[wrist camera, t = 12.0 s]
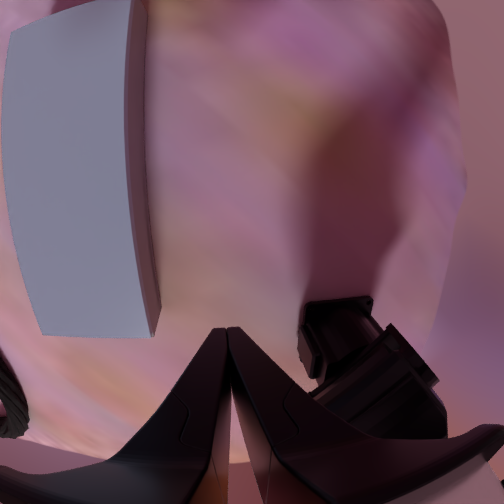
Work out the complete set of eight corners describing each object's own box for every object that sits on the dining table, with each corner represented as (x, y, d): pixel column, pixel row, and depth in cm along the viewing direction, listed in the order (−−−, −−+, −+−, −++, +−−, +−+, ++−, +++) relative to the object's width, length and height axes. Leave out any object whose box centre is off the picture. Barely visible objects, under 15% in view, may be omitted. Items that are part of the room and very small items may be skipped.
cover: (135, -3, 11) (132, -8, 10) (152, 331, 19) (151, 338, 18) (16, 34, 10) (10, 32, 9) (46, 329, 18) (42, 335, 17)
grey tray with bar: (147, 14, 15) (135, -9, 11) (161, 307, 23) (153, 336, 19) (43, 41, 14) (18, 29, 10) (67, 308, 22) (49, 333, 18)
